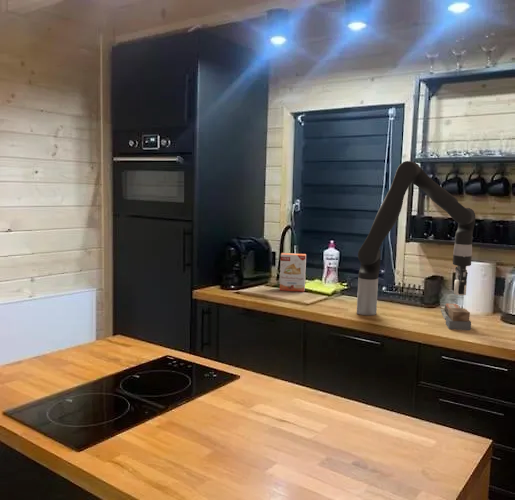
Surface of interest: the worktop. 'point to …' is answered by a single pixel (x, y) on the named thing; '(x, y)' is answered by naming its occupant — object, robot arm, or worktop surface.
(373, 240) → the robot arm
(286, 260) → the cracker box
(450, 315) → the walnut block
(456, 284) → the cream cylinder
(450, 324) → the charcoal base block
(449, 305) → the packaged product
